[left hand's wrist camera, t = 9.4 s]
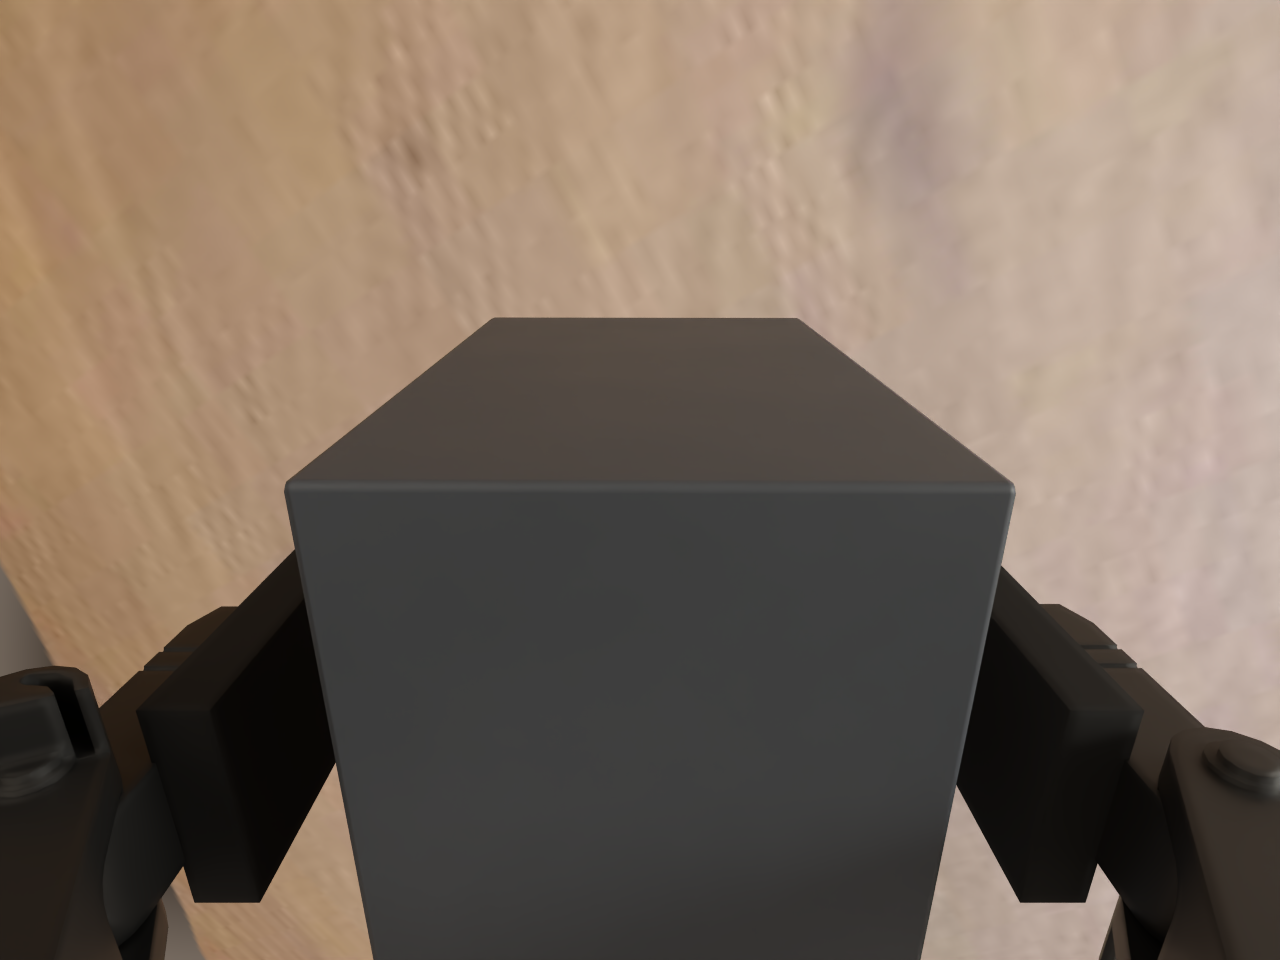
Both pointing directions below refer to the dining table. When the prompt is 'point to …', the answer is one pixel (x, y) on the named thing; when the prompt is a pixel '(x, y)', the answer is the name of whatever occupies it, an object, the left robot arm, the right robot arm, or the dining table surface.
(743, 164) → the dining table surface
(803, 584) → the bar
